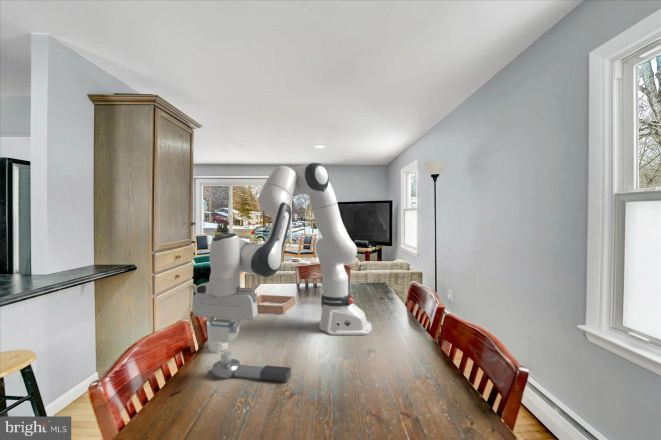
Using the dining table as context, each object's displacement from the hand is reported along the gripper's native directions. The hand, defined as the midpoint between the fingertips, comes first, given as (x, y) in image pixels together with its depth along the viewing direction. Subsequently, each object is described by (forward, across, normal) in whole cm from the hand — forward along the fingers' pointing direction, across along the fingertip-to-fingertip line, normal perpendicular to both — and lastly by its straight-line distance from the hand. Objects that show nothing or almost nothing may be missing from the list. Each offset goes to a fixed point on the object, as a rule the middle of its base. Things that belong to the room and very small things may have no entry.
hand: (224, 331), depth 98 cm
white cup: (+13, +12, -16) cm, 24 cm away
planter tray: (+12, +12, -67) cm, 69 cm away
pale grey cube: (+2, 0, 0) cm, 2 cm away
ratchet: (+13, -8, 0) cm, 15 cm away
